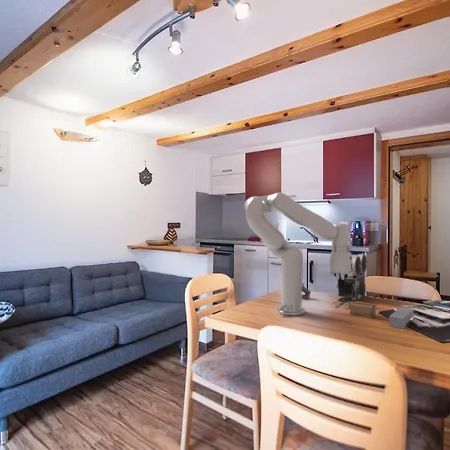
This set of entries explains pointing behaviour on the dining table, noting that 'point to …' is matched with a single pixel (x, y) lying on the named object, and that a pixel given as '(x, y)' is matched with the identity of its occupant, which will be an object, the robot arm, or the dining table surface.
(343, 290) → the film camera
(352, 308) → the walnut block
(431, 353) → the dining table surface
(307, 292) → the futuristic pistol
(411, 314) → the board
